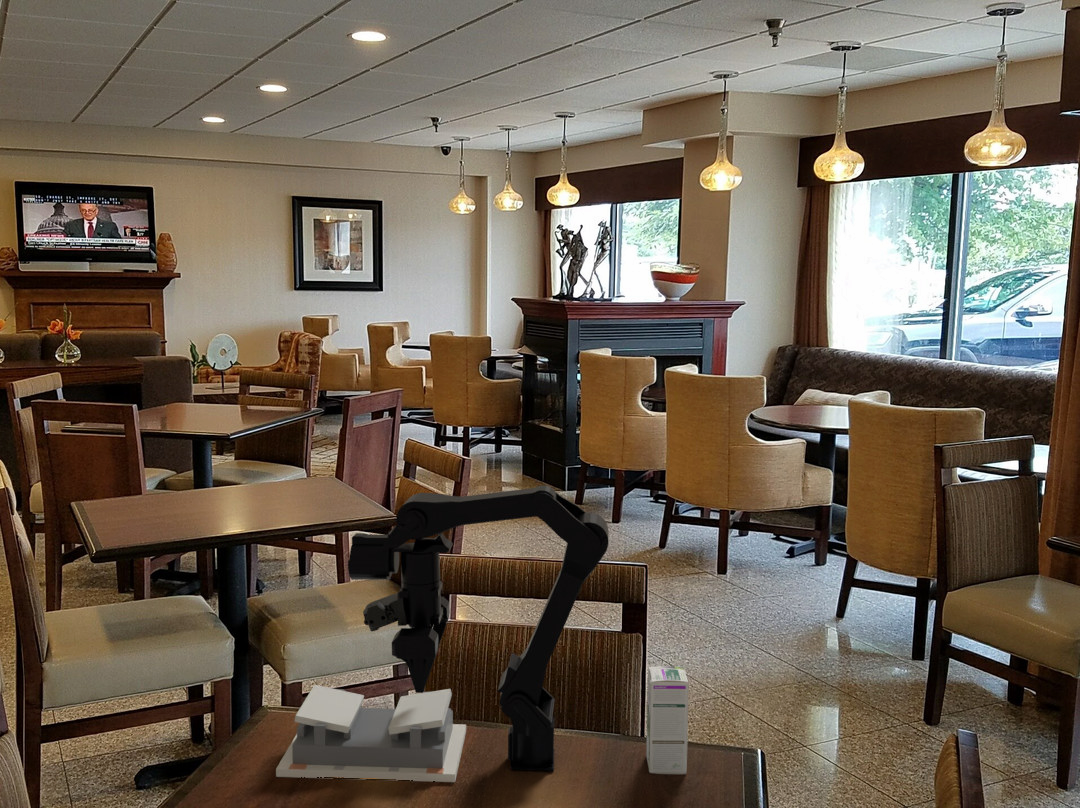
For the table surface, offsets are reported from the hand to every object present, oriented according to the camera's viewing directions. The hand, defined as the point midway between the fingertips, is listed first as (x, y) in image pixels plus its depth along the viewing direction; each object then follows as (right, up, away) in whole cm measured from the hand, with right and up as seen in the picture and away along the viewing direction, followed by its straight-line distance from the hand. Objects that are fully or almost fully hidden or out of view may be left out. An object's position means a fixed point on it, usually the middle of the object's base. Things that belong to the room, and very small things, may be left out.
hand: (423, 679), depth 148 cm
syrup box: (+36, -13, 0) cm, 39 cm away
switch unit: (-8, -12, +2) cm, 14 cm away
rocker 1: (-14, -5, +1) cm, 15 cm away
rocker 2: (0, -5, +1) cm, 6 cm away
